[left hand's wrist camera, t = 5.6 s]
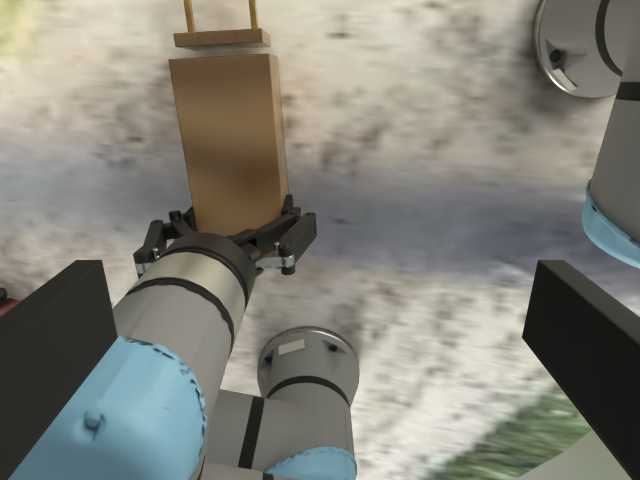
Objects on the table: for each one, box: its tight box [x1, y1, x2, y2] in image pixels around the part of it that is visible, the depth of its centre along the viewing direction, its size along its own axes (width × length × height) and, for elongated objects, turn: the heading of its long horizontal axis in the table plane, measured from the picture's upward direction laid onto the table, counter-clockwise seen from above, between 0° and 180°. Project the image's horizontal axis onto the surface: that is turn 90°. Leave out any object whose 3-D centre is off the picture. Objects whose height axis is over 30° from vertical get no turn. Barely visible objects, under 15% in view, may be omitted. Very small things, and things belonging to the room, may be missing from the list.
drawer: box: [173, 0, 271, 51], centre depth 46 cm, size 25×9×6 cm, turn 3°
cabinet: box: [169, 54, 289, 237], centre depth 48 cm, size 20×10×8 cm, turn 3°
